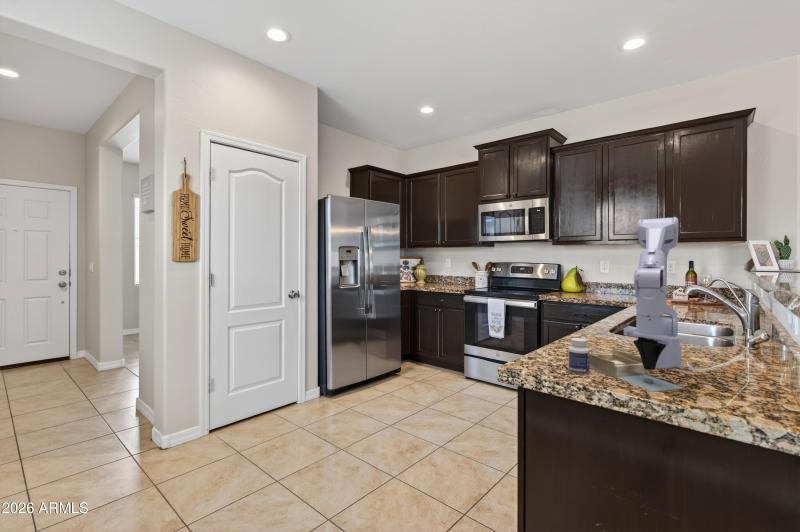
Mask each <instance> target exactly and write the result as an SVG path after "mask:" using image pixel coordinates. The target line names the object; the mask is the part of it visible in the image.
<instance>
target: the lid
mask: <svg viewBox="0 0 800 532" xmlns="http://www.w3.org/2000/svg"><path fill="white" fill-rule="evenodd" d="M616 379H618V380H621V381H623V382H626V383H629V384H631V385H634V386H636V387H639V388H641V389H644V390H646V391H649V392H663V391H672V390H673V391H674V390H682V389H683V390H684V389H685V388H684V387H683V386H681V385H680V386H679V385H677V384H674V383H671V382H669V381H665V380H662V379H659V378H657V377H653V376H652V375H649V374H648V375H646V374H645V375H634V376H622V377H616Z"/></svg>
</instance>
